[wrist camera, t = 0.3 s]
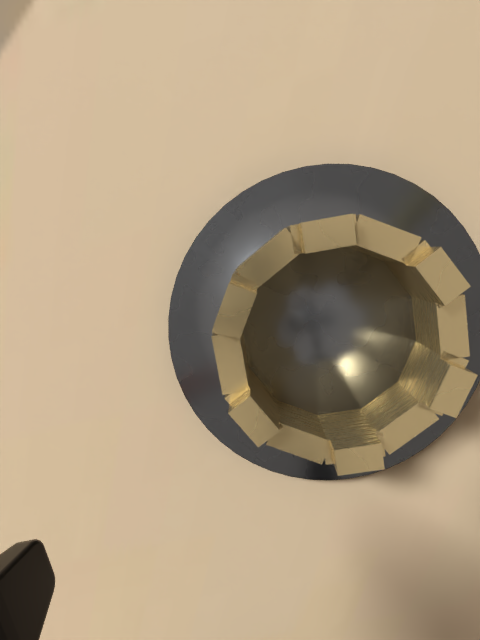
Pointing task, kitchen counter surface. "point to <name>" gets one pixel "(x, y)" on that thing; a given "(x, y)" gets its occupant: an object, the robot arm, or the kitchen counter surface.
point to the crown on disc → (328, 322)
